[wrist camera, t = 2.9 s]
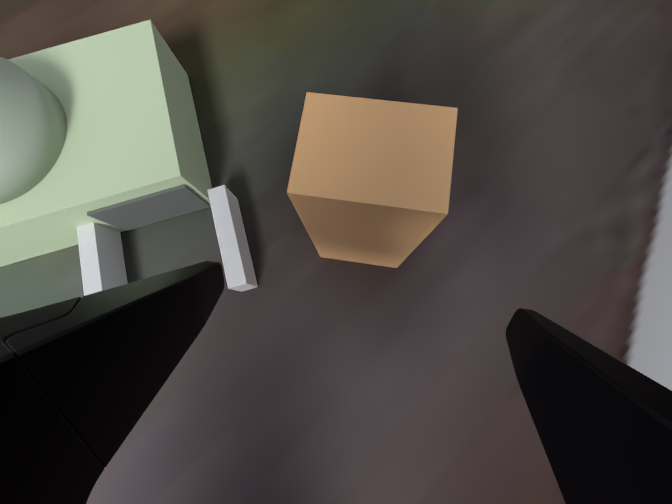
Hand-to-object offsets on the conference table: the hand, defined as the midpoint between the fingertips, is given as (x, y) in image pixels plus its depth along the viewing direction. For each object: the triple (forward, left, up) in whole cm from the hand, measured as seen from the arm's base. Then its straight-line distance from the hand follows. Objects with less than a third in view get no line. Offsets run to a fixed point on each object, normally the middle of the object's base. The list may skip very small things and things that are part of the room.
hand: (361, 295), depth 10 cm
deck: (+17, +14, -12) cm, 25 cm away
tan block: (+4, -3, -12) cm, 13 cm away
